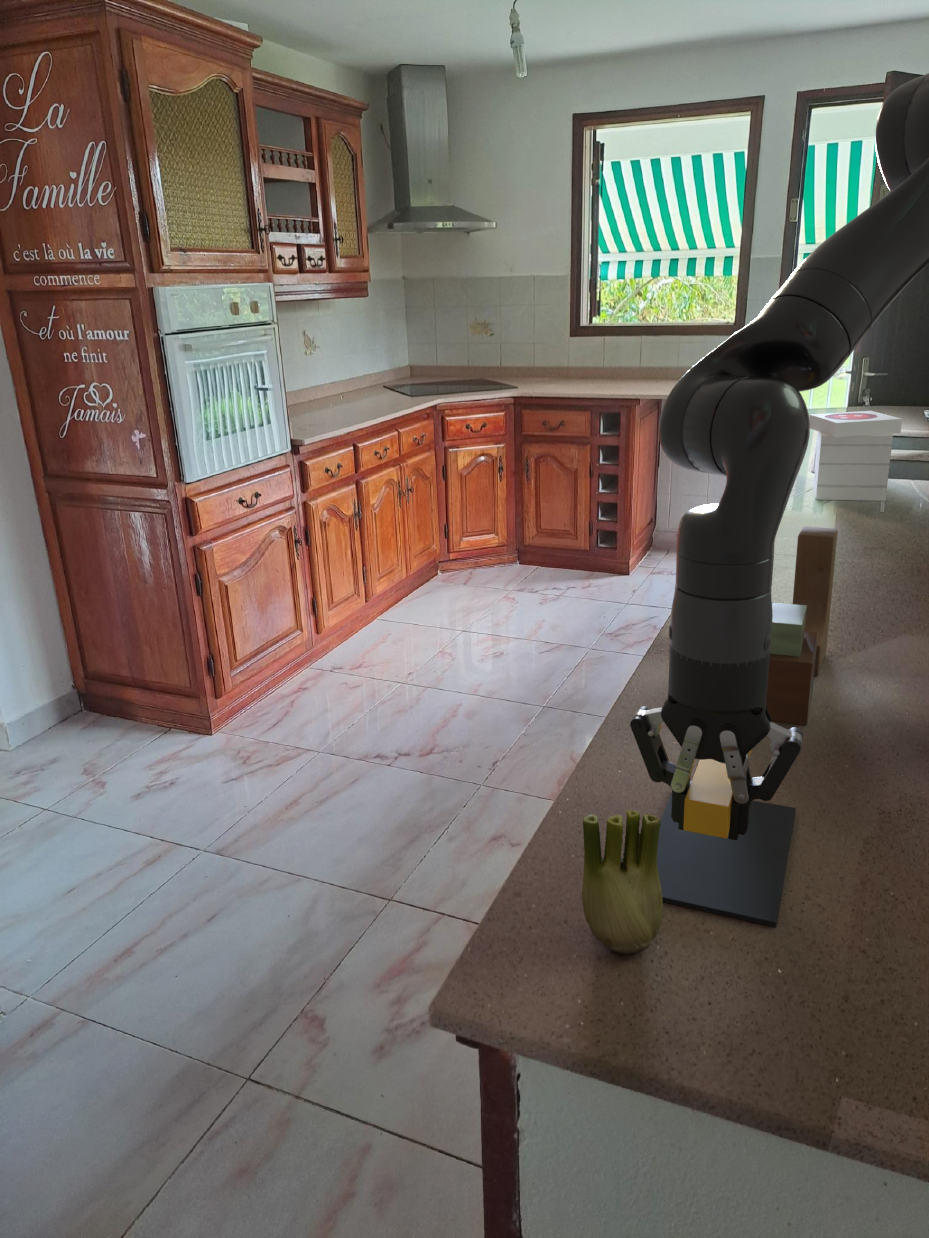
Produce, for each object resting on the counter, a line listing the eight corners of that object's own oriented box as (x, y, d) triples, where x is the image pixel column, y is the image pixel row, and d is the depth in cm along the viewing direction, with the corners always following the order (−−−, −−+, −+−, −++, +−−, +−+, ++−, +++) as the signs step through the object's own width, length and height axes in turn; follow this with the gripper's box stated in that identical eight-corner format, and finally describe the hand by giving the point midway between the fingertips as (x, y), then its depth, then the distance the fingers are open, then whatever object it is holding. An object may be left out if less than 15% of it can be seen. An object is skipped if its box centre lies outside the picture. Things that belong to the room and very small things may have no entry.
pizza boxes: (881, 476, 225) (889, 404, 219) (895, 503, 198) (905, 422, 192) (801, 475, 231) (807, 405, 225) (805, 501, 204) (811, 422, 198)
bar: (718, 732, 88) (720, 705, 87) (755, 738, 86) (757, 710, 85) (683, 830, 72) (684, 799, 71) (726, 839, 71) (729, 807, 70)
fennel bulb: (577, 946, 71) (576, 819, 67) (602, 910, 75) (602, 788, 71) (646, 970, 68) (649, 840, 64) (667, 932, 72) (671, 806, 68)
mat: (673, 790, 92) (673, 786, 92) (795, 812, 87) (795, 807, 87) (631, 895, 77) (631, 890, 77) (776, 927, 72) (776, 922, 72)
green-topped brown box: (731, 681, 116) (736, 595, 112) (812, 690, 112) (820, 602, 108) (719, 713, 108) (724, 622, 103) (806, 725, 104) (815, 631, 99)
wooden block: (818, 677, 116) (830, 545, 109) (782, 672, 118) (792, 543, 111) (826, 652, 123) (838, 527, 117) (792, 648, 125) (802, 525, 119)
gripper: (820, 633, 69) (801, 822, 75) (640, 615, 74) (636, 792, 80) (813, 670, 62) (793, 873, 68) (617, 648, 68) (615, 837, 74)
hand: (709, 828), depth 74 cm, fingers closed on bar, 3 cm apart
